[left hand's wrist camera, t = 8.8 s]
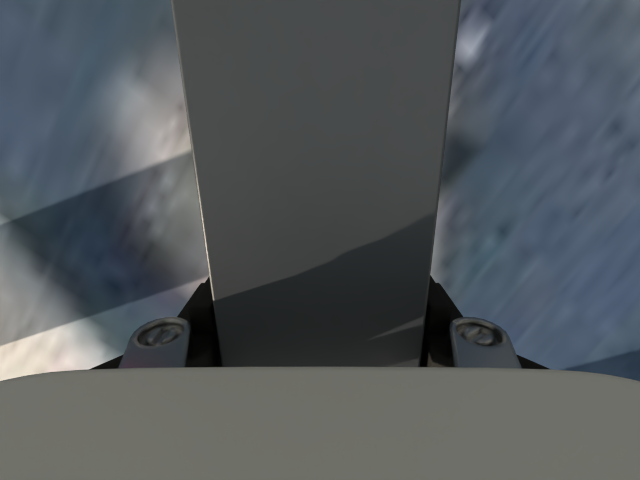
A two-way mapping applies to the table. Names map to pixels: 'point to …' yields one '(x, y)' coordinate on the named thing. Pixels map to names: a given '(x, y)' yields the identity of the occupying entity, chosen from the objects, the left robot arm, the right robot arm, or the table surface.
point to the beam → (318, 171)
